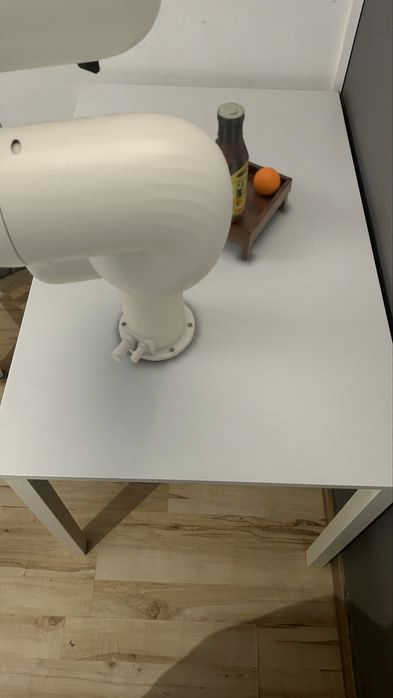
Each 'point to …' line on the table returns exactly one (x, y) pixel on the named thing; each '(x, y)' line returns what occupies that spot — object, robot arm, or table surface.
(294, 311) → the table surface
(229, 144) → the sauce bottle
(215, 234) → the robot arm
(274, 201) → the tray
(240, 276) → the table surface
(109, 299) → the table surface
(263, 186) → the clementine
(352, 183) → the table surface
